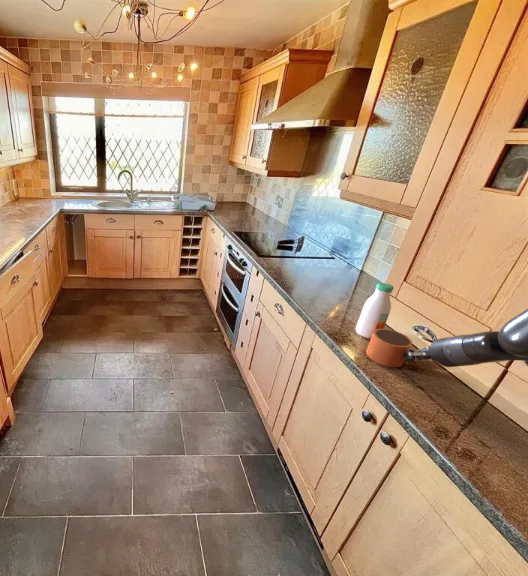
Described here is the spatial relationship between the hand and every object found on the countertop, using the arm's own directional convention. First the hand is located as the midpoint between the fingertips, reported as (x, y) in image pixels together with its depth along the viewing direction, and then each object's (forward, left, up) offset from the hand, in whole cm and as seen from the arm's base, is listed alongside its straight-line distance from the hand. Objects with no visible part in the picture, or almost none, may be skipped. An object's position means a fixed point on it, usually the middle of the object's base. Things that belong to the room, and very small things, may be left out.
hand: (407, 357), depth 95 cm
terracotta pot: (+5, -3, -4) cm, 7 cm away
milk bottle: (+12, -15, -4) cm, 19 cm away
